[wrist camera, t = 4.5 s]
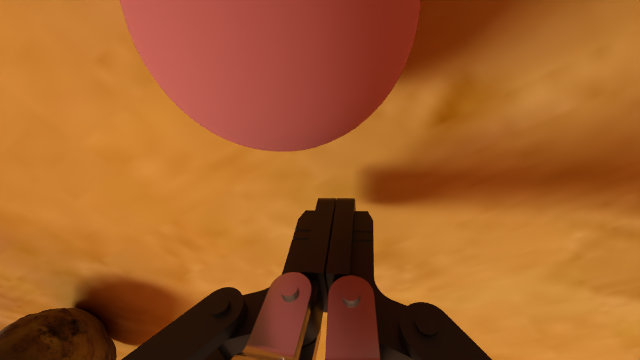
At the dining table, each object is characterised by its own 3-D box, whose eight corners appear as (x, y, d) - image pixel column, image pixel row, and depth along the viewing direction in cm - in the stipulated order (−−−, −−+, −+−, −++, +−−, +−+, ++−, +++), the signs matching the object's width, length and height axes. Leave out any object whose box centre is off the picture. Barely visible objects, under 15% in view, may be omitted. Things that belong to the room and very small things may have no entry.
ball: (448, 187, 5) (405, 59, 10) (510, -605, 1) (390, -234, 5) (193, 217, 7) (251, 95, 11) (-146, -122, 3) (147, -116, 7)
